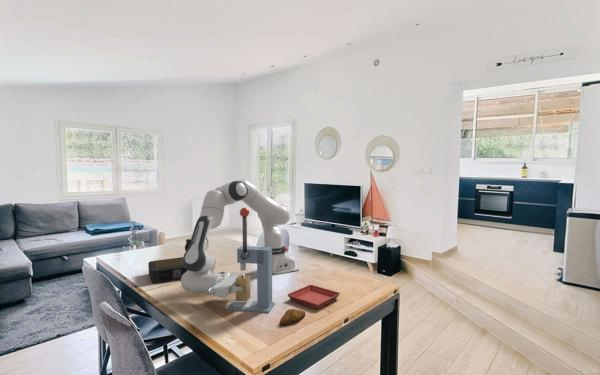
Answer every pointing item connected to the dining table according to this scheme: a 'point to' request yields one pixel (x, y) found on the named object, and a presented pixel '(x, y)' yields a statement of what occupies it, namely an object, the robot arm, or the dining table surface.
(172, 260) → the cash box
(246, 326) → the dining table surface
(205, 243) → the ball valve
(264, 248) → the press
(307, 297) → the plant saucer
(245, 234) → the lever
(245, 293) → the block
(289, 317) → the croissant
